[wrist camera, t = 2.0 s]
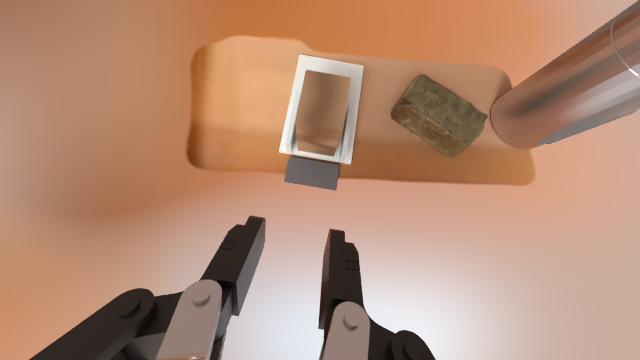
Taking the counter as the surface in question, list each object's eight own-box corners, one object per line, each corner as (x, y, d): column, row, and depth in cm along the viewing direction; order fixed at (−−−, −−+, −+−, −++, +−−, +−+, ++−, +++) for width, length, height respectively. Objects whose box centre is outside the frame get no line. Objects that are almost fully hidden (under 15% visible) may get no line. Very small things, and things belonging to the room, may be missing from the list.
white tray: (362, 68, 35) (369, 50, 32) (346, 192, 31) (351, 186, 27) (299, 57, 35) (299, 37, 32) (273, 180, 30) (269, 172, 27)
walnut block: (340, 114, 33) (350, 77, 25) (333, 156, 31) (342, 131, 23) (305, 108, 32) (305, 69, 25) (297, 150, 31) (295, 122, 23)
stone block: (404, 91, 35) (421, 68, 30) (468, 132, 34) (495, 116, 29) (385, 118, 34) (399, 99, 29) (451, 161, 33) (477, 149, 28)
